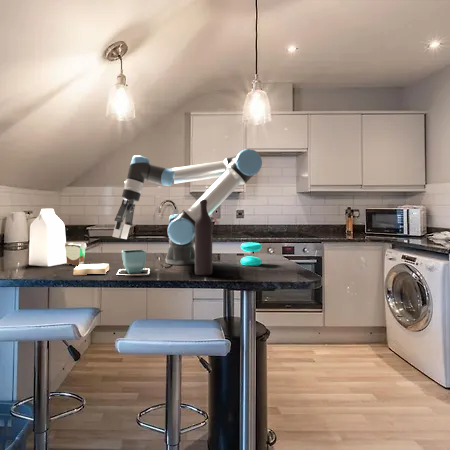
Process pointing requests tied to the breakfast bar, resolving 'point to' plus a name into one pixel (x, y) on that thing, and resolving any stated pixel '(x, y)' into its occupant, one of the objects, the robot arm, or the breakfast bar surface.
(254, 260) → the pair of cyan ovals
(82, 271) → the bread slice
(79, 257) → the food container
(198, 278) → the breakfast bar surface
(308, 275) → the breakfast bar surface
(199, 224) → the wine bottle
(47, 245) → the milk
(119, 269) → the seat outline
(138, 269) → the flower pot
